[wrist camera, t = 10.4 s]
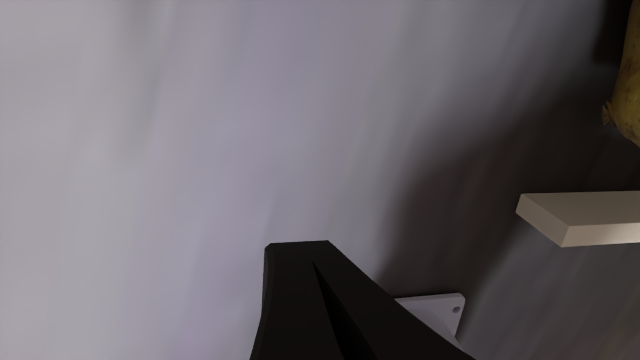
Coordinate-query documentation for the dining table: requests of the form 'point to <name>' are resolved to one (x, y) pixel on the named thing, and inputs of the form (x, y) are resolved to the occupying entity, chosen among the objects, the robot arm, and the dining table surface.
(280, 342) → the robot arm
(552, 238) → the corral
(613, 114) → the potato
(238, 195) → the dining table surface
